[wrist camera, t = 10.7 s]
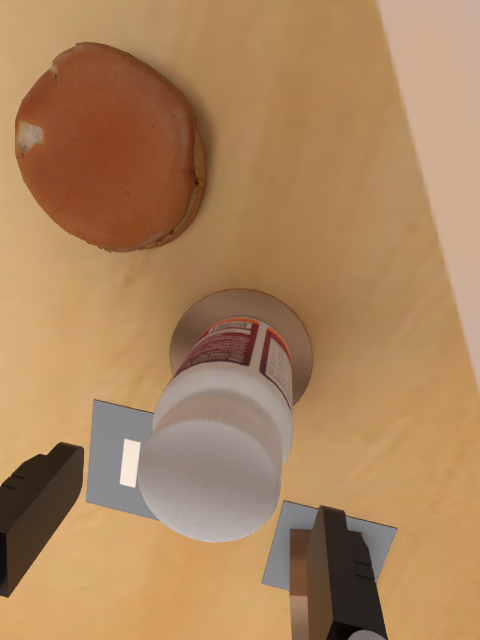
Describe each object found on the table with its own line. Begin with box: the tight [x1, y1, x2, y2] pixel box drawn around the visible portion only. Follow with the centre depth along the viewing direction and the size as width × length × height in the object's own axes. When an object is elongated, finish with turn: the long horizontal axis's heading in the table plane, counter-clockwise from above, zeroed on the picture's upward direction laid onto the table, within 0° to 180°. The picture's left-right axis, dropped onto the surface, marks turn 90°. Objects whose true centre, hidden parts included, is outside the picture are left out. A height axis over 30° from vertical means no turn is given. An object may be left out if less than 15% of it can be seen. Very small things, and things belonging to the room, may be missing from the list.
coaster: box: [170, 289, 313, 406], centre depth 25 cm, size 9×9×1 cm
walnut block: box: [290, 529, 363, 640], centre depth 26 cm, size 5×5×5 cm
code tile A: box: [86, 400, 160, 521], centre depth 28 cm, size 9×9×1 cm
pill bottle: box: [138, 317, 293, 542], centre depth 19 cm, size 6×6×11 cm
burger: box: [15, 42, 206, 253], centre depth 20 cm, size 10×9×5 cm
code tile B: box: [262, 501, 397, 591], centre depth 29 cm, size 8×8×1 cm
